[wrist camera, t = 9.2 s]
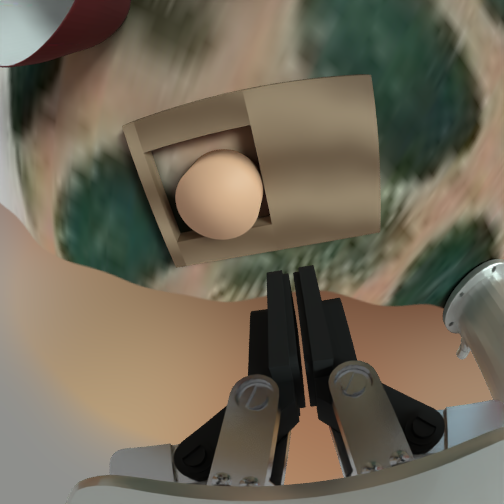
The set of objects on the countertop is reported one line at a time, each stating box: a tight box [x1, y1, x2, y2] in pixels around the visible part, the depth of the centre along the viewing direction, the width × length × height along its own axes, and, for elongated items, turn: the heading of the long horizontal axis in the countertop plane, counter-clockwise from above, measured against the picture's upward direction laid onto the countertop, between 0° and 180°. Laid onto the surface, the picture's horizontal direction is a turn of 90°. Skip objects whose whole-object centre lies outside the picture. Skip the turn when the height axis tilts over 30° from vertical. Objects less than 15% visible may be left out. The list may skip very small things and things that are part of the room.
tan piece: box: [122, 74, 381, 268], centre depth 22 cm, size 13×18×2 cm
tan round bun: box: [175, 149, 264, 240], centre depth 21 cm, size 6×6×3 cm
